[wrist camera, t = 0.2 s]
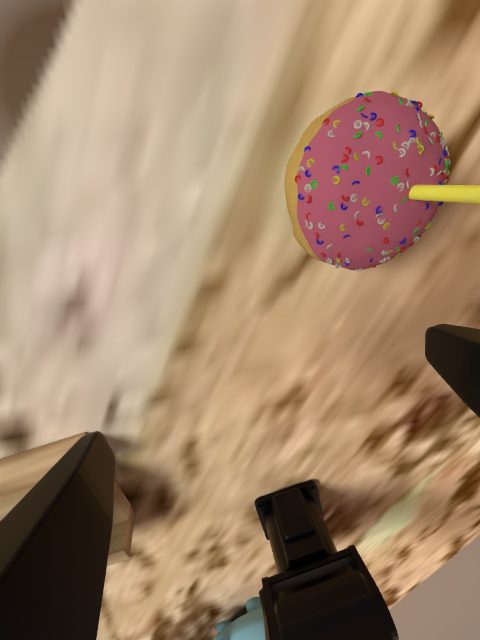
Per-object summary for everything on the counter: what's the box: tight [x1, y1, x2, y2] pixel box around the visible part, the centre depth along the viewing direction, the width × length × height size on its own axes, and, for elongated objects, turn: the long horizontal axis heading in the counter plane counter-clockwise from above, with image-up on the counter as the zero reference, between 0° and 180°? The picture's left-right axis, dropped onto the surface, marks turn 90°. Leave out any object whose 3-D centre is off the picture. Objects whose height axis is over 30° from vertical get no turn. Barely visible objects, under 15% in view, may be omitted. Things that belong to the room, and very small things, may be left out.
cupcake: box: [285, 91, 480, 272], centre depth 15 cm, size 9×8×12 cm
